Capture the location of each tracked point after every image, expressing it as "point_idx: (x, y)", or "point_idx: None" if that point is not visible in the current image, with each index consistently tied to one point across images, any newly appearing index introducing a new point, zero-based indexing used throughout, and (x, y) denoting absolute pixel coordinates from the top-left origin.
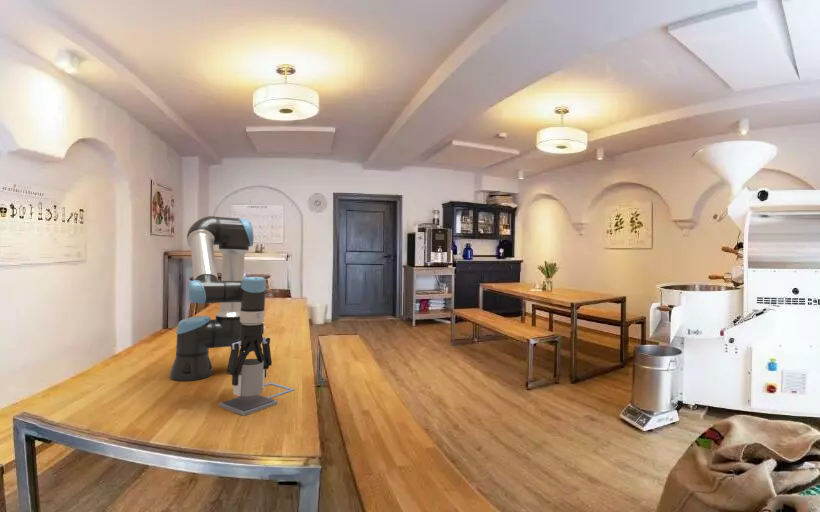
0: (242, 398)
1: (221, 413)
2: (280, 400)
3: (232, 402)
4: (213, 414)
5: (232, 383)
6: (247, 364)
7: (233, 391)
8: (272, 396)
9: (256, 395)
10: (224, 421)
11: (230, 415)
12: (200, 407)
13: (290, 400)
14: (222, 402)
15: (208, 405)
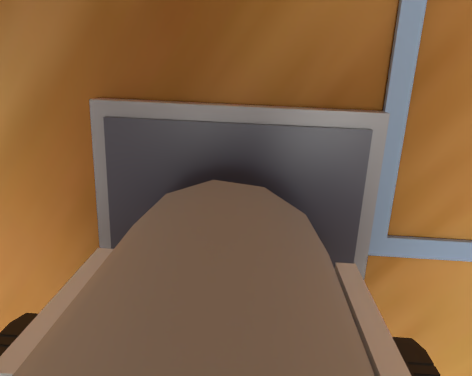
0: (241, 172)
1: (50, 214)
2: (406, 326)
3: (146, 182)
4: (10, 190)
5: (10, 331)
6: (289, 350)
7: (87, 259)
8: (428, 254)
9: (344, 202)
10: (9, 311)
11: (70, 275)
12: (3, 11)
13: (437, 369)
14: (103, 122)
15: (59, 22)
